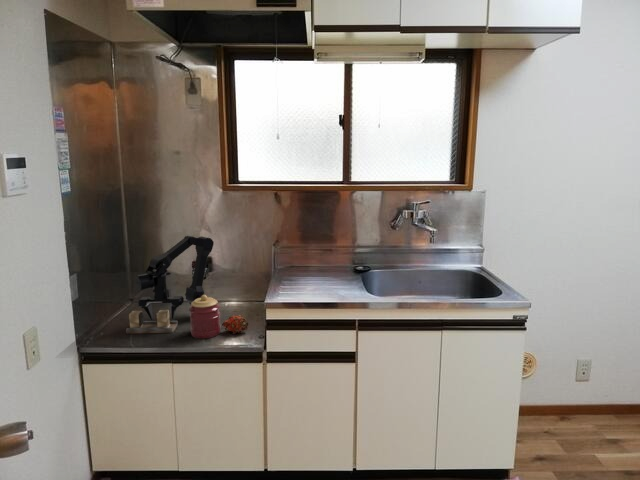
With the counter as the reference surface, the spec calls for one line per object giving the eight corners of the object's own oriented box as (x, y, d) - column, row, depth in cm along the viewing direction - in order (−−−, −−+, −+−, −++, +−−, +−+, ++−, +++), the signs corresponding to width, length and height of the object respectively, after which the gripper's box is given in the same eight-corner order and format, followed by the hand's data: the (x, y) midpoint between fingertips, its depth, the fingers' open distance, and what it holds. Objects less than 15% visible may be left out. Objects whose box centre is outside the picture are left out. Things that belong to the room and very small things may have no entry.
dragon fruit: (250, 337, 199) (224, 339, 201) (252, 320, 205) (227, 323, 207) (244, 326, 193) (217, 329, 195) (246, 310, 199) (221, 312, 201)
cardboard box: (169, 324, 207) (168, 309, 206) (166, 328, 202) (165, 313, 201) (159, 324, 207) (158, 310, 205) (156, 328, 202) (155, 313, 200)
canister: (225, 328, 205) (224, 291, 201) (213, 340, 192) (211, 300, 189) (199, 326, 207) (197, 289, 204) (185, 337, 195) (182, 298, 191)
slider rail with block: (177, 325, 209) (176, 308, 208) (172, 332, 200) (171, 315, 199) (133, 325, 208) (132, 309, 207) (126, 333, 199) (124, 316, 198)
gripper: (185, 280, 209) (187, 312, 212) (144, 281, 208) (147, 313, 211) (179, 287, 198) (181, 321, 201) (136, 288, 197) (138, 322, 200)
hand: (162, 319), depth 204 cm, fingers open, 9 cm apart
